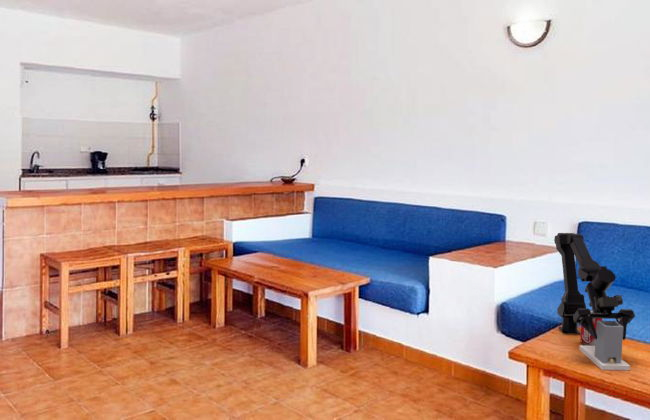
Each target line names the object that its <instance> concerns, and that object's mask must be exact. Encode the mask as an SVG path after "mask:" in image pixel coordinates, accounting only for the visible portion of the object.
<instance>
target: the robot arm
mask: <svg viewBox="0 0 650 420" xmlns="http://www.w3.org/2000/svg"><path fill="white" fill-rule="evenodd" d="M553 240H554V244H555V247H556V251H557V252H558V253H559V255H561V265H562V271H563V272H562V273H563V275H562V276H563V284H564V285H563V286H564V293H563V295H562V296H561V300H560V301H561V303H560V304H559V305H558V307H557V309H556V310H557V315H558V316H559V317H560V318H562V320H561V326H559V327H558V329H559V330H560V331H561V333H562V334H573V335H580V332H581V331H580V330H579V328H578V327H579V325H580V326H581V325H582V326H583V327H584V328H585V329H586V330H587V331H588V332H589V333H590V334H591V335H592V336H593V338H594V339H597V334H596V331H595V328H594V325H593V318H602V319H603V320H604V319H611V320H612V319H613V320H615V321H616V322H617V323H619V324H620V325H622V326H623V327H624V328H623V341H625V340H626V338H627V337H626V336H627V328H628V324H630V323H631V322H632V320H633V319H634V318H635V317H636V314H635V311H634V310H633V309H631V308H628V309H627V308H626V309H625V308H620V309H619V311H618V312H612V311H615V308H616V307H617V308H618V307H619V306H621V305H623V304H624V301H623V296H622V295H621V294H615V295H613V296H608V295H607V292H606V291H608V290H609V289H610V287H611V286H612V284H613V283H614V282H615V280H616V278H617V277H616V275H615V273H614V272H613V271H612V270H610V269H609V268H607V266H606V265H602V266H601V265H600V264H599V263H598V262H597V261H596V260H594V259H593V257H592V255H591V253H590V251H589V249H588V247H587V246H586V243H585V241H584V235H583V234H581V233H575V232H559V233H557V235H555V236H554V239H553ZM576 261H577V263H578V266H579V268H578V269H577V265H576ZM577 272H578V276H577ZM578 278H579V279H580V281H581V282H588V283H587V284H586V286H585V288H584V292H585V293H587V296H588V299H589V303H588V306H589V307H591V309H589V308H587V305H586V303H585V295H584V294H582V293H580V291H579V285H578ZM590 310H593V313H591V312H590Z"/></svg>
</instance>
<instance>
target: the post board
mask: <svg viewBox="0 0 650 420" xmlns="http://www.w3.org/2000/svg"><path fill="white" fill-rule="evenodd" d="M578 349H579V351H581V353H583V354H584V355H585V356H586V357H587V358H588V359H589V360H590V361H591V362H592V363H594V364H595V365H596V366H597V367H598V369H599V368H600V370H602V371H603V370H604V371H630V369H631V365H630V364H628V363H627V362H626V361H624V360H623V359H622V358H621V363H615V360H614V359H613V357H608V360H607V363H602V362H601V361H599V360H598V359H597V358H596V357H595V346H588V345H585V344H583V345H582V344H580V345H579V348H578Z"/></svg>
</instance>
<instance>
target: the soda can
mask: <svg viewBox="0 0 650 420" xmlns="http://www.w3.org/2000/svg"><path fill="white" fill-rule="evenodd" d="M590 312H591V313H593V310H592V309H590ZM597 321H603V318H593V325H594V328H595V331H596V327H597ZM579 332H580V334H579V335H580V337H579V338H580V342H581V344H583V345H588V346H595V342H596V339H594V338H593V336H592V335H591V334H590V333H589V332H588V331H587V330H586V329H585V328H584V327H583V326H582V325H580V331H579Z"/></svg>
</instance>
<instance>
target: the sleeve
mask: <svg viewBox="0 0 650 420" xmlns="http://www.w3.org/2000/svg"><path fill="white" fill-rule="evenodd" d="M623 328H624V327H623V326H622V325H620V324H619V323H618V322H617V321H616V320H602V321H597V327H596V334H597V339H596V342H595V357H596V358H597V359H598V360H599V361H601V362H602V363H607V360H608V357H613V359H614V360H615V363H621V359H622V355H623V354H622V352H623V341H624V340H623Z"/></svg>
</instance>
